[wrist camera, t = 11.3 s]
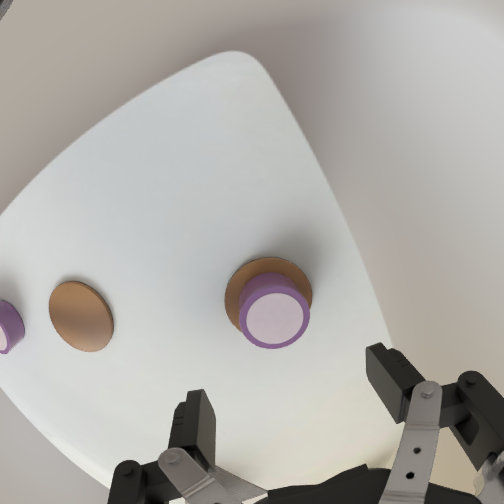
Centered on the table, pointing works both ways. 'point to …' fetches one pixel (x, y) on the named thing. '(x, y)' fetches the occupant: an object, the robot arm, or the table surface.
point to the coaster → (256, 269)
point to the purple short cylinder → (272, 311)
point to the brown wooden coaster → (81, 316)
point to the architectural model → (236, 485)
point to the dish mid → (9, 327)
